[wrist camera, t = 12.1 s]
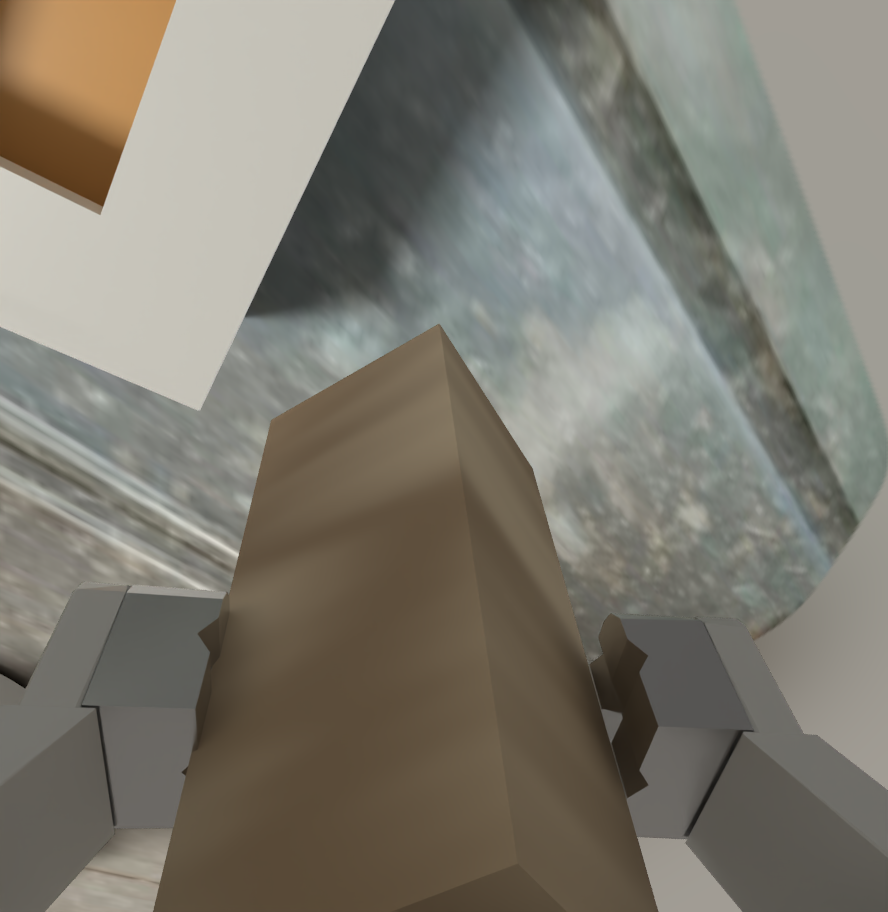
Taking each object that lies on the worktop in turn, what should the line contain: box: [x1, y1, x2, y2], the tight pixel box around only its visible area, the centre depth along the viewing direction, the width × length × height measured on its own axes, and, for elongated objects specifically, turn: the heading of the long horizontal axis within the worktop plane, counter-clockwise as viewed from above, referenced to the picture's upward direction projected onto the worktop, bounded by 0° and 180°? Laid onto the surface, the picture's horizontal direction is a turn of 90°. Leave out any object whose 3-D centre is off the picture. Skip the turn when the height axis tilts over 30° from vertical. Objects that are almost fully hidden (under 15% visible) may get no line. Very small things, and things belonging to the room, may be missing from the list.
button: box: [0, 0, 176, 206], centre depth 22 cm, size 8×8×3 cm
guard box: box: [0, 0, 395, 411], centre depth 21 cm, size 14×14×7 cm
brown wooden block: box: [153, 324, 658, 912], centre depth 9 cm, size 3×3×8 cm
